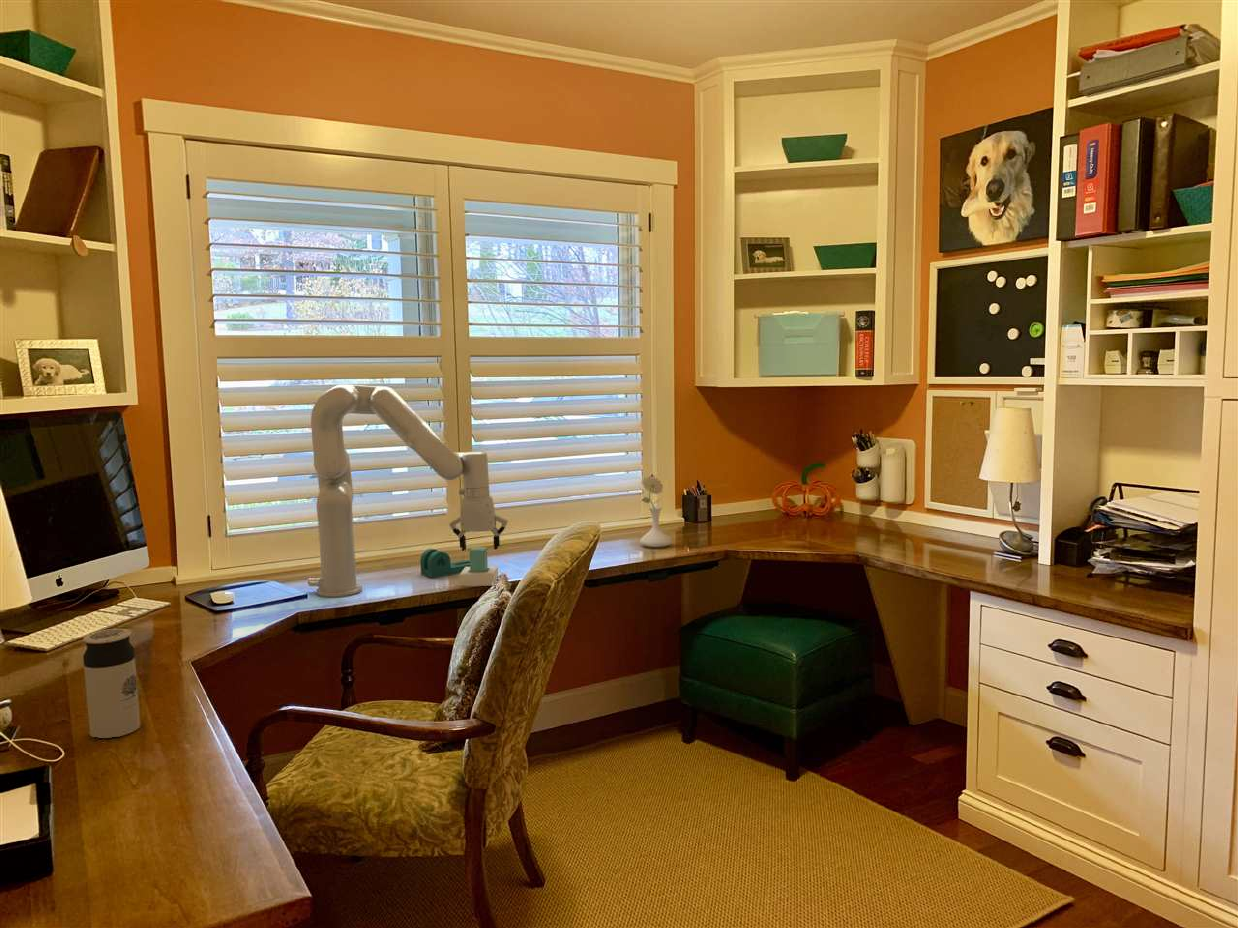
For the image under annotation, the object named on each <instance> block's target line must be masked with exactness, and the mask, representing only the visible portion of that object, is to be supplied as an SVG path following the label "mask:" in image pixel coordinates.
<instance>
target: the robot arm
mask: <svg viewBox="0 0 1238 928" xmlns="http://www.w3.org/2000/svg"><path fill="white" fill-rule="evenodd" d="M349 414H354V415H355V414H357V415H358V414H359V415H376V416H377V417H378V418H379V419H380V420H381V421H382V422H383V423H384V424H385V425H386V426H388V428H389V429H391V430H392V431H393V432H394V433H395V434H396V435H397V437H399V438H400V439H401V440H402V442H403V443H405V444H406V445H407V446H408V447H409V448H410V449H411V450H412V451H414V452H415V453H416V454H417V455H418V456H419V457H420V458H421V459H422V460H423V461H424V462H425V463H426V464H427V465H428V466H429V467H430V468H431V469H432V470H433V471H434V472H435V473H436V474H437V476H440V477H441V478H442V479H444V480H446V481H454V480H456V479H458V478H460V476H461V475H462V480H463V483H462V484H463V488H461V489H458V494H459V495H463V497H462V498H461V500H460V508H459V509H460V512H459V513H460V515H459V517H458V518H456V519H454V520H453V521H451V522H450V523H449V527H450V529H451V530H452V533H454V534H455V535H456V536H457V538H458V539H459V548H461V551H462V552H464V551H466V549H467V541H466V540H467V539H466V536H465V534H466V533H471V532H472V533H473V532H491V533H493V535H494V536H493V550H495V551H496V550H498V548H499V547H500V545H501V541H500V535H501V534H502V533H503V532H504V530H505V529H506V526H507V524H508V519H505V518H503V517H500V516H499V515H497V514H496V509H495V505H494V499H493V496H491V495H490V483H489V482H490V480H489V479H490V478H489V462H488V461H489V460H488V453H486V452H485V451H483V450H482V451H481V450H473V451H472V450H471V451H470V450H469V451H465V452H460V451H459V452H458V451H452V450H451V449H450V447H448V445H446V444H445V442H443V441H442V440H441V439H440V437H439V436H437V435H436V433H435V432H434V431H433V430H432V428H431V426H430V425H429V424H428V423H427V422H426V420H425V419H424V418H423V417H422V416H420V415H419V413H418V412H417V411H415V410H414V409H413V407H411V406H410V405H409V403H407V401H405V400H404V399H403V398H402V396H401V395H400V394H398V393H397V391H396V390H395V389H393V388H391V387H390V386H385V385H384V386H375V385H373V386H371V385H361V384H360V385H359V384H346V383H345V384H337V385H335V386H333V387H332V388H330V389H328V390H327V391H325V392H323V394H321V396H320V397H319V398H317V400H316V402H315V403H314V405H313V408H312V411H311V415H310V428H311V440H312V441H311V442H312V452H313V467H314V470H315V472H316V473H317V481H318V489H319V492H318V495H317V497H316V514H317V523H318V524H317V525H318V526H317V527H318V539H319V540H318V541H319V550H320V551H319V554H320V570H321V571H320V572H321V576H320V577H318V578H313V577H312V578H308V579H307V584H308V586H309V587H318V588H317V589H316V595H318V596H320V597H326V598H336V597H337V598H338V597H346V596H351V595H355V594H359V593H361V592H362V590H363V586H362V584H360V583H357V572H356V553H355V552H356V550H355V537H354V536H355V535H354V522H353V521H354V519H353V500H354V489H353V479H352V478H353V477H352V470H351V461H350V456H349V453H348V452H347V450H346V448H345V441H344V429H343V421H344V418H345V416H346V415H349ZM497 522H498V523H501V525H500V527H499V528H497V527H496V526H497ZM458 524H460V529H459V528H457V525H458Z"/></svg>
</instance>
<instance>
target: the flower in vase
mask: <svg viewBox="0 0 1238 928" xmlns="http://www.w3.org/2000/svg"><path fill="white" fill-rule="evenodd" d="M641 481H642V483H641V484H642V486H643V488H645V490H646V491H648V493H649V494H648V497H647V496H644V497H643V498H642V500H641V502H644V503H647V504H649V503H651V505H652V506H649V507H648V508H647V509H648V510H649V512H650V514H651V519H652V522H651V523H652V525H651V528H650V530H649V531H648V532H647V533H645V534H644V535H643V536H642V537H641V538H640V540H639V544H640V545H641V546H645V547H648V548H662V547H663V548H664V547H666V546H669V545H671V544H672V542H673V541H672V538H671V537H670V536H668V534H666V533H665V532H664V531H663V530H661V527H660V524H659V523H660V522H659V521H660V520H659V519H660V514H661V511H662V510H663V507H662V506H654V504H657V503H658V502H660V501H661V499H657V500H655V501H654V502H652V499H651V493H652V494H656V495H658V494H660V493H662V492H663V487H664V486H663V483H662V481H661V480H659V478H656V477H655V476H654V475H652V476H651V475H646V476H645V477H643V478H642V480H641Z"/></svg>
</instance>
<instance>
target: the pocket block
mask: <svg viewBox="0 0 1238 928" xmlns="http://www.w3.org/2000/svg"><path fill="white" fill-rule="evenodd" d="M497 577H498V578H499V566H497V565H495V566H493V565H492V566H491V565H490V566H489V565H488V572H478V573H470V567H465V568H464V569H463V571H462V572H461V573H459V586H460V587H473V586H474V587H475V586H477V587H479V586H480V587H481V586H482V587H483V586H486V587H487V586H492V585H491V584H492V583H493V582H494V581H495V579H496V578H497Z"/></svg>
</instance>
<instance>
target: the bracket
mask: <svg viewBox="0 0 1238 928" xmlns="http://www.w3.org/2000/svg"><path fill="white" fill-rule="evenodd" d="M419 560H420V575H421V576H423V577H424V576H425V577H427V578H430V579H435V578H441V577H445V576H451V574H452V575H456V574H460V573H461V572H462V571H463V569H464V568H465V567H470V559H469V560H468V559H467V560H466V559H465V560H459V561H453V562H451V557H450V556H449V554H448V553H446V552H444V551H442V550H437V549H434V548H428V549H425V550H424V551H423V553H422V554H421V556H420V559H419Z"/></svg>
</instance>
